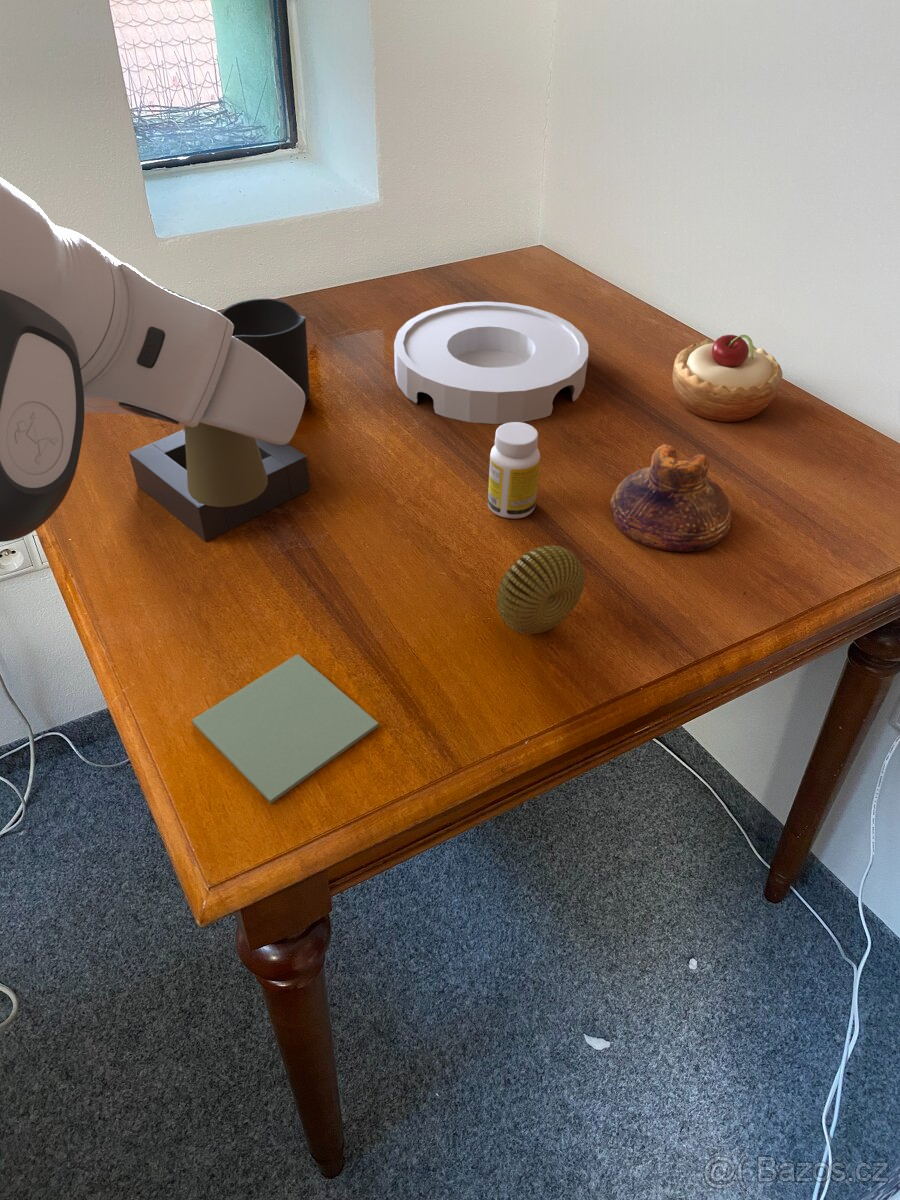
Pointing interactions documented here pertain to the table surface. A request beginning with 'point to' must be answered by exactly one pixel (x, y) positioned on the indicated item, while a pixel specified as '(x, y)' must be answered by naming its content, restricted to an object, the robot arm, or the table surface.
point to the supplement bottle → (514, 470)
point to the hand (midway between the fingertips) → (220, 406)
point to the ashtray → (490, 361)
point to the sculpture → (540, 589)
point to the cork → (223, 466)
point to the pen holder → (273, 335)
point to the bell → (672, 504)
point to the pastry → (726, 378)
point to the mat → (284, 726)
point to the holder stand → (167, 484)
